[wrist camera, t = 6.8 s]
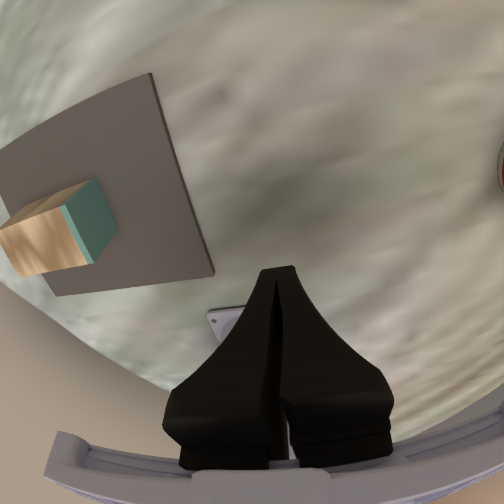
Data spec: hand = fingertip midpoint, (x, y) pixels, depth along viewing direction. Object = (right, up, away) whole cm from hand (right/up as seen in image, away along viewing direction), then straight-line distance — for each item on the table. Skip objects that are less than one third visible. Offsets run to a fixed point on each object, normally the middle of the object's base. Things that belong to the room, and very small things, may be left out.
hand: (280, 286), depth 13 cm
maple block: (-12, +4, +7) cm, 14 cm away
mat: (-15, +5, +9) cm, 18 cm away
